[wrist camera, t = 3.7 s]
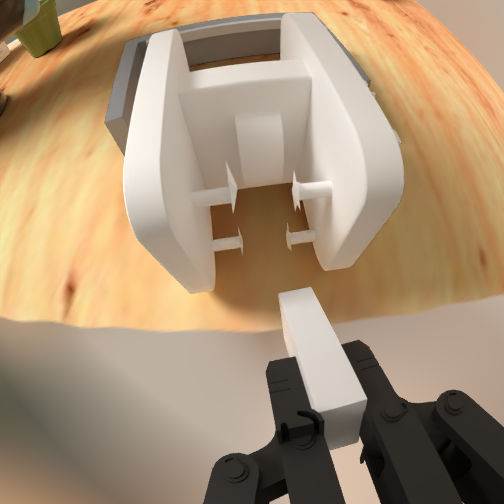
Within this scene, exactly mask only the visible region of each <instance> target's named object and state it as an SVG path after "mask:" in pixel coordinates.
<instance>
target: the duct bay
mask: <svg viewBox="0 0 504 504" xmlns="http://www.w3.org/2000/svg"><path fill="white" fill-rule="evenodd" d="M297 13H312V14H314V13H313V12H297ZM284 14H285V13H272V14H258V15H247V16H239V17H231V18H224V19H217V20H211V21H205V22H200V23H195V24H190V25H185V26H180V27H176V28H172V29H177V30H178V32H179V34H180V36H181V39H182V42H183V46H184V50H185V54H186V58H187V63H188V66H192V65H197V64H202V63H207V62H213V61H219V60H225V59H231V58H238V57H245V56H253V55H262V54H273V53H280V35H281V20H282V17H283V15H284ZM314 15H315V14H314ZM315 16H316V15H315ZM316 17H317V16H316ZM317 18H318V17H317ZM318 19H319V18H318ZM319 20H320V19H319ZM320 22H321V23H322V24H323V25H324V26H326V25H325V24H324V23H323V22H322V21H321V20H320ZM168 30H171V29H168ZM327 30H328V31H329V33H330V34H331V35H332V37H333V38H334V39H335V40H336V42H337V43H338V44H339V46H340V47H341V48H342V50H343V51H344V53H345V54H346V55H347V57H348V58H349V60H350V61H351V62H352V64H353V65H354V67H355V68H356V70H357V71H358V73H359V74H360V76H361V77H362V79H363V80H365V81H366V82H367V83H368V88H369V85H370V81H371V80H370V79H369V78H368V76H367V75H366V74H365V72H364V71H363V70H362V68H361V67H360V66H359V64H358V63H357V62H356V61H355V59H354V58H353V57H352V56H351V54H350V53H349V52H348V51H347V50H346V48H345V47H344V46H343V45H342V44H341V42H340V41H339V40H338V39H337V38H336V37H335V35H334V34H333V33H332V32H331V31H330V30H329V29H328V28H327ZM164 31H167V30H164ZM160 32H163V31H160ZM156 33H158V32H156ZM153 34H155V33H152V34H149V35H145V36H142V37H139V38H136V39H132V40H129V41H126V44H125V47H124V50H123V53H122V57H121V60H120V63H119V66H118V70H117V73H116V77H115V81H114V84H113V88H112V92H111V96H110V100H109V104H108V109H107V113H106V118H105V124H106V126H107V128H108V129H109V131H110V133H111V134H112V136H113V138H114V140H115V141H116V143H117V145H118V146H119V148H120V150H121V151H122V153H123V155H124V156H125V151H126V145H127V138H128V132H129V127H130V121H131V116H132V111H133V105H134V101H135V96H136V91H137V87H138V82H139V78H140V74H141V70H142V66H143V62H144V58H145V55H146V51H147V47H148V44H149V40H150V38H151V36H152V35H153Z"/></svg>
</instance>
